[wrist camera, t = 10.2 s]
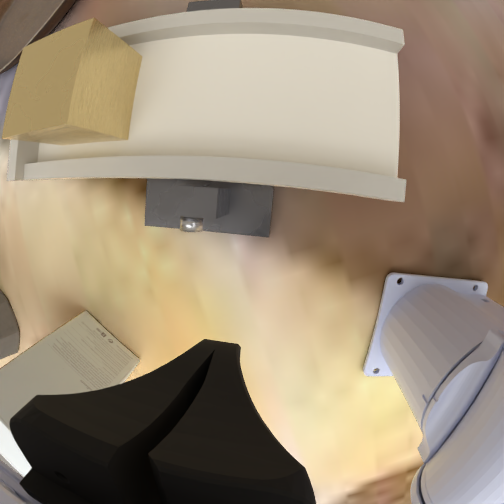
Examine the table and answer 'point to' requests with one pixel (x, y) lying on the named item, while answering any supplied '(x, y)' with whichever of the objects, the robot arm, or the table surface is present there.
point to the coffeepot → (8, 329)
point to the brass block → (73, 88)
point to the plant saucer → (26, 25)
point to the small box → (60, 373)
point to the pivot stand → (209, 192)
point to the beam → (250, 105)
